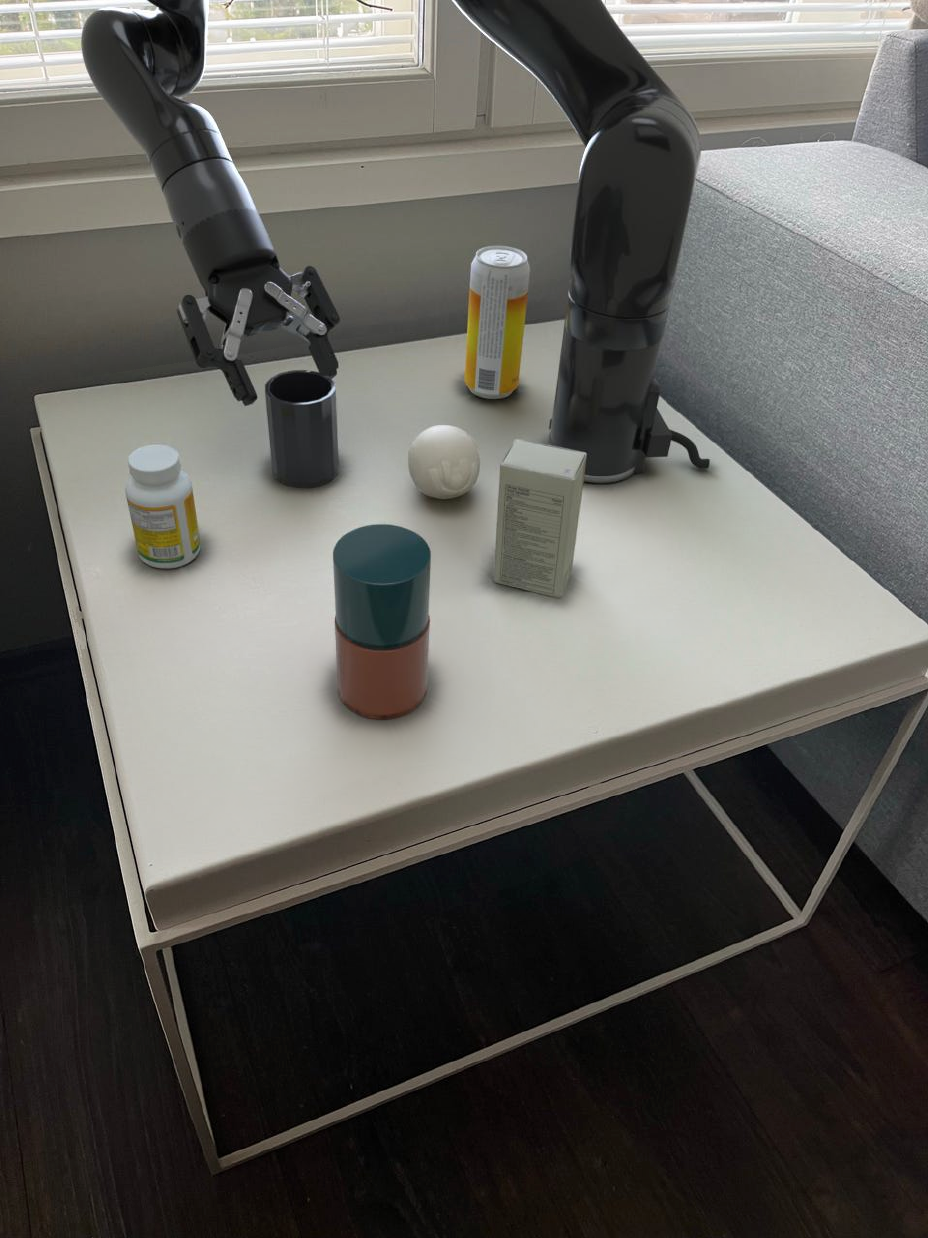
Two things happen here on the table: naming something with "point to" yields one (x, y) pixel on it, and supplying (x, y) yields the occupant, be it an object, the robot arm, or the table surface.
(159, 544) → the supplement bottle
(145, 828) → the table surface
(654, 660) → the table surface
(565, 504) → the cosmetic box
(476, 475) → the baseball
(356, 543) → the teal and red cylinder
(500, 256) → the beer can
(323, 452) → the cup
